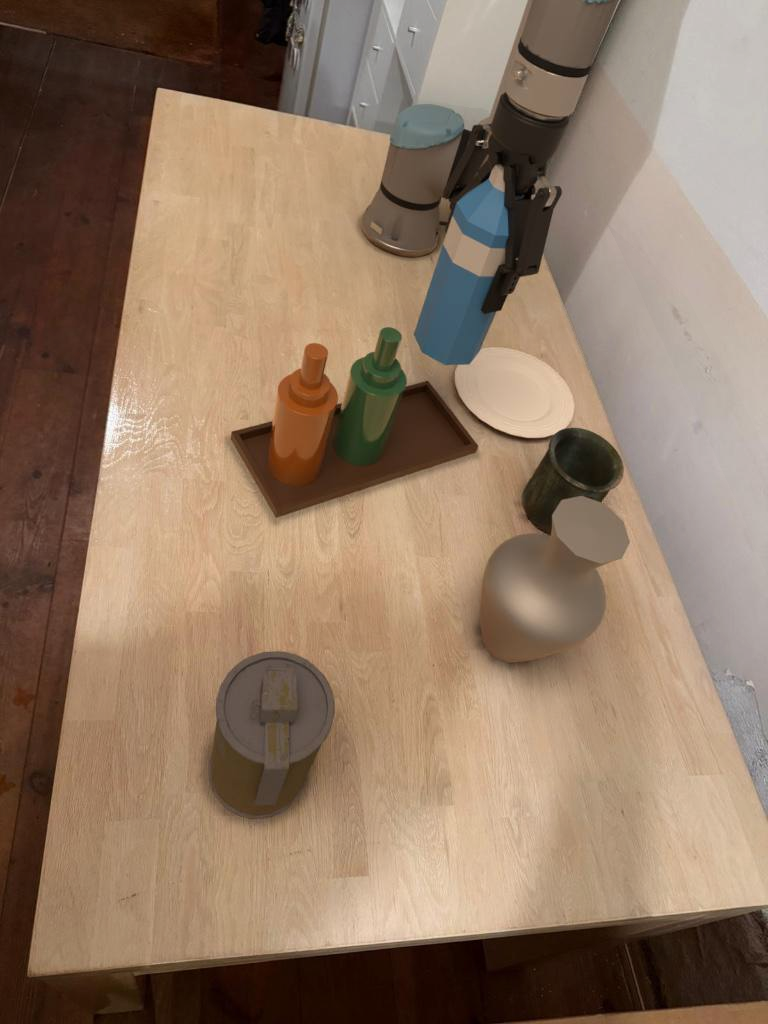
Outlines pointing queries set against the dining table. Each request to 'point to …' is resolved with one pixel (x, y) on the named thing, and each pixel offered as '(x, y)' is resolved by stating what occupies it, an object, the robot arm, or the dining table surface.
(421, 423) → the tray
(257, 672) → the canister
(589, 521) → the vase
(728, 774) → the dining table surface
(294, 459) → the amber bottle
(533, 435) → the plate
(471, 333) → the water bottle
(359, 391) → the green bottle
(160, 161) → the dining table surface
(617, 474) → the mug
